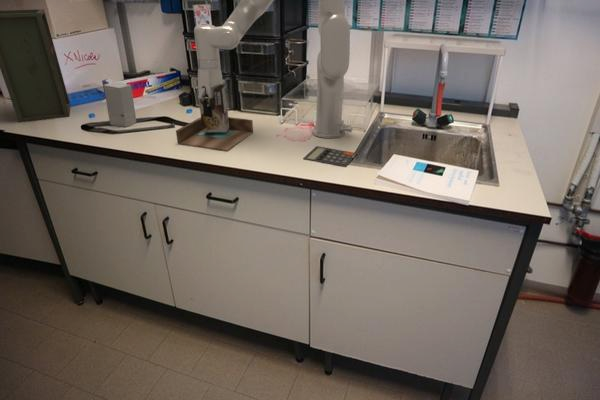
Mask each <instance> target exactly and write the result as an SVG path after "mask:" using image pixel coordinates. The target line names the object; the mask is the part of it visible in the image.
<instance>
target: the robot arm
mask: <svg viewBox="0 0 600 400" xmlns="http://www.w3.org/2000/svg"><path fill="white" fill-rule="evenodd" d="M274 1H275V0H240V1H239V2H238V5H236V7H235V8H234V10H233V11H232V12H231V14H230V15H229V17H228V18H227V20H225V22H224V23H223V24H222V25H221V26H215V25H214V24H213V25H212V24H198V25H196V26H195V27H194V28H193V29H194V30H193V33H194V42H195V50H196V57H197V64H198V65H197V66H198V69H197V89H198V91H199V96H198V95H197V98H198V101H199V100H200V103H201V104H202V106H203V111H204V116H205V117H212V107H211V106H210V104H211V99H212V98H213V97H214V89H215V88H217V87H219V86H221V85H225V84H224V80H223V73H222V70H221V67H222V66H221V58H220V49H223V50H234V49H235V48H237V46H239V44H240V41H241V40H242V38H243V37H245V35H246V33H247V32H248V31H249V29H250V28H251V27H252V25H253V24H254V23H255V22H256V21H257V20H258V19H259V18H260V17H261V16H262V15H263V14H265V12H267V10H268V9H269V7H270V6H271V5H272V3H274ZM345 6H346V5H345V0H318V25H317V29H318V33H319V36H320V43H319V44H320V50H319V52H318V54H317V58H316V75H317V77H316V78H317V79H316V82H317V83H316V86H317V87H316V116H315V117H316V119H315V120H316V122H315V123H316V124H315V126H314V127H312V129H311V133H312V134H313V135H314V136H315V137H318V138H323V139H336V138H341V137H343V136H345V134H346V132H347V133H352V131H353V126H352V125H351V124H345V122H344V121H345V120H342V119H343V117H342V116H343V103H344V83H345V75H346V73H347V72H348V70H349V67H350V56H351V55H350V53H351V52H350V50H351V46H350V45H351V27H350V24H349V21H348V19H347V18H346V15H345V13H346V12H345V8H346V7H345ZM205 93H207V95H208V97H205V96H204V95H205ZM205 99H208V102H207V101H206V100H205Z"/></svg>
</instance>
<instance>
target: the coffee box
mask: <svg viewBox="0 0 600 400" xmlns="http://www.w3.org/2000/svg"><path fill="white" fill-rule="evenodd" d="M196 91H197V97H198V96H199V91H198V88H197V89H196ZM226 91H227V90H226V84H224V85H221V86H219V87H217V88H215V89H214V97H213V98H212V99H211V104H210V106H211V107H212V117H205V116H204V111H203V106H202V104H201V103H200V100H199V99H198V105H199V111H200V117H201V121H202V128H203V132H227V131H228V129H229V119H228V117H229V111H228V103H227V102H228V101H227V92H226ZM204 96H205V97H208V95H207V93H205V95H204ZM205 100H206V101H207V102H208V99H205Z"/></svg>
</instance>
